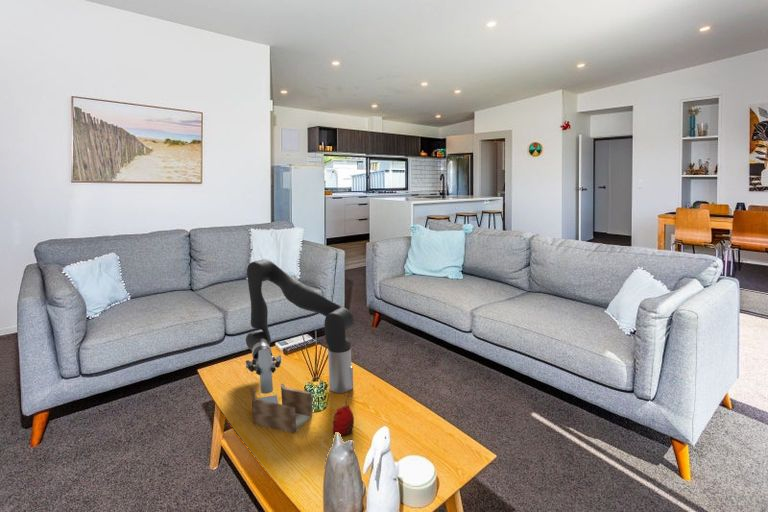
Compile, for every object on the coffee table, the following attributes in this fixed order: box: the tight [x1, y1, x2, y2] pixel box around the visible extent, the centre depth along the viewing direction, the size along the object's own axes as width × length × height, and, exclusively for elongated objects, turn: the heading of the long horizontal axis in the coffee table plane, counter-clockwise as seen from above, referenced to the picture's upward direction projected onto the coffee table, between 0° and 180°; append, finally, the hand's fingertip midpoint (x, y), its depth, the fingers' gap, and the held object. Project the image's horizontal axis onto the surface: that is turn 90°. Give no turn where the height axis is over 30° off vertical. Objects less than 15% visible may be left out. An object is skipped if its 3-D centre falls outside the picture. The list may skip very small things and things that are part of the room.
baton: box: [258, 348, 274, 395], centre depth 157 cm, size 4×4×16 cm
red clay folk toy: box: [332, 392, 355, 436], centre depth 141 cm, size 8×7×15 cm
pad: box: [258, 394, 279, 404], centre depth 162 cm, size 7×7×1 cm
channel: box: [250, 383, 313, 435], centre depth 149 cm, size 20×20×9 cm
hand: (266, 371), depth 155 cm, fingers closed on baton, 4 cm apart
